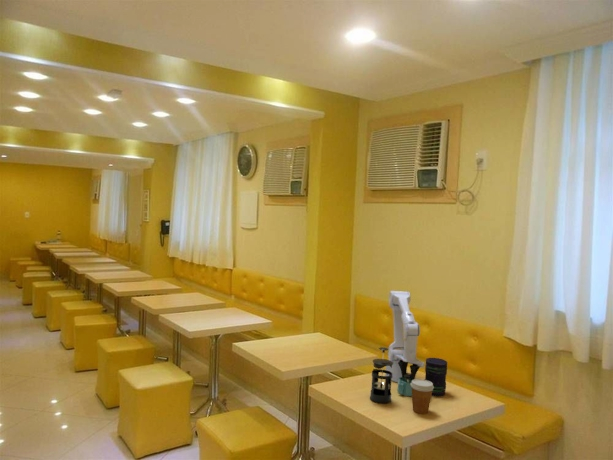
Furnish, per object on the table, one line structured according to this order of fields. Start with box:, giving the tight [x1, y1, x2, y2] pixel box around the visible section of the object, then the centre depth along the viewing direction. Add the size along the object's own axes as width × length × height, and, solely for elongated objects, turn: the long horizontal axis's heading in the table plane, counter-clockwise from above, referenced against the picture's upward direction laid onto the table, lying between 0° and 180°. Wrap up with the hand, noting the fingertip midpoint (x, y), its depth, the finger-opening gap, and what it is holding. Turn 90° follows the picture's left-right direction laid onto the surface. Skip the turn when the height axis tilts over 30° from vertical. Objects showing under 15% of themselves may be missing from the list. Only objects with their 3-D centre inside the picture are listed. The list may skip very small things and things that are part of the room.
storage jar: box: [424, 357, 448, 398], centre depth 214 cm, size 10×10×15 cm
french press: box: [369, 346, 393, 405], centre depth 202 cm, size 12×9×23 cm
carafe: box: [397, 377, 412, 397], centre depth 212 cm, size 8×10×6 cm
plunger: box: [404, 372, 411, 383], centre depth 212 cm, size 6×6×8 cm
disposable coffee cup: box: [411, 378, 434, 415], centre depth 192 cm, size 10×10×12 cm
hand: (408, 378), depth 212 cm, fingers closed on plunger, 4 cm apart
